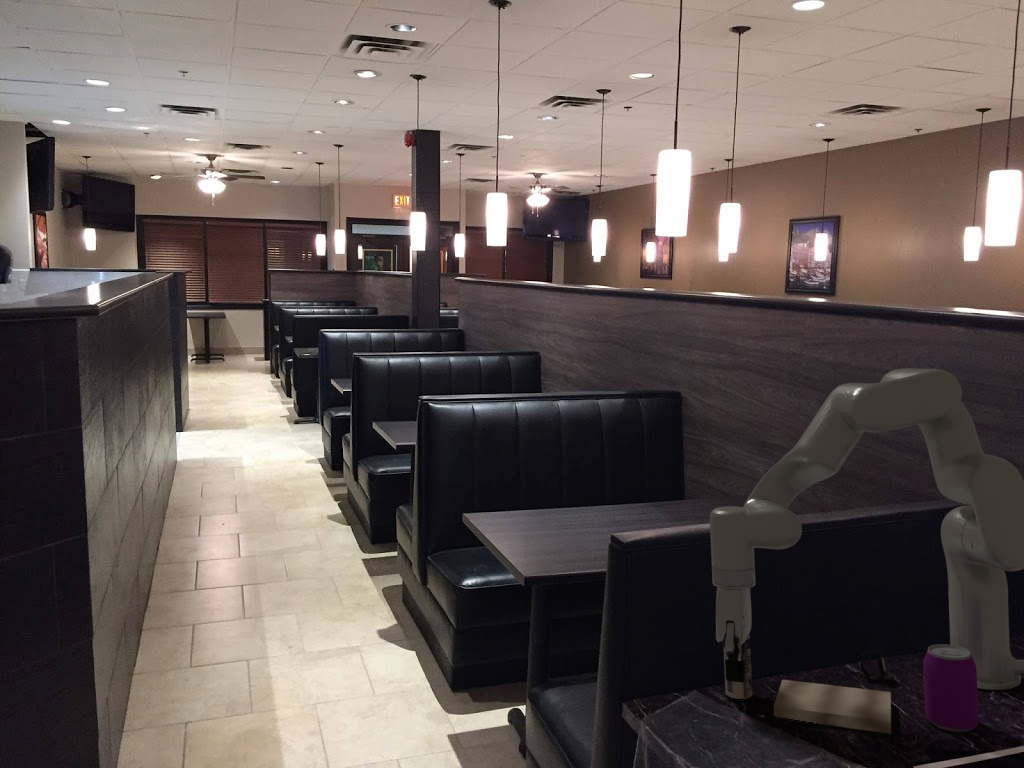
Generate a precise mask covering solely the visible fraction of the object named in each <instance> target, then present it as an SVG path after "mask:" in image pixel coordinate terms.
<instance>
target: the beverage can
mask: <svg viewBox="0 0 1024 768" xmlns="http://www.w3.org/2000/svg"><path fill="white" fill-rule="evenodd" d="M922 663H923V667H922V668H923V687H924V688H923V689H924V691H923V692H924V710H925V711H924V713H925V717H926V719H927V720H928V721H929V722H930V724H932V725H933V724H934V725H933V726H935V727H936V726H937V727H936V728H938V727H939V729H940V728H941V730H943V729H944V731H947V732H948V731H949V732H954V733H966V732H967V733H968V732H970V731H972V730H973V729H975V728H976V727H977V726H978V725H979V700H978V698H979V697H978V688H977V667H976V665H975V662H974V660H973V658H972V656H971V653H970V651H969V650H967V649H965V648H962V647H959V646H954V645H951V644H943V643H942V644H941V643H940V644H932V645H930V646H928V648H927V651H926V653H925V656H924V658H923V661H922Z"/></svg>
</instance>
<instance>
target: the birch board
mask: <svg viewBox="0 0 1024 768" xmlns="http://www.w3.org/2000/svg"><path fill="white" fill-rule="evenodd" d="M774 716H776V717H781V718H787V719H793V720H792V721H794V720H800V721H799V722H801V721H806V722H805V723H808V722H813V723H812V724H816V723H818V725H823V724H825V725H824V726H830V725H831V726H833V727H840V728H845V729H854V730H861V731H868V732H874V733H875V732H876V733H882V734H888V735H889V734H892V693H891V691H883V690H877V689H876V690H874V689H865V688H860V687H859V688H857V687H849V686H840V685H833V684H826V683H825V684H824V683H816V682H815V683H814V682H806V681H797V680H789V679H782V680H781V682H780V686H779V689H778V693H777V695H776V698H775V700H774V705H773V717H774Z"/></svg>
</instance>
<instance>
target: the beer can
mask: <svg viewBox="0 0 1024 768" xmlns="http://www.w3.org/2000/svg"><path fill="white" fill-rule="evenodd" d="M738 641H739V639H734V642H738ZM722 642H723V659H724V660H723V661H724V663H723V664H724V666H725V637H724V639H723V641H722ZM734 647H735V648H736V649H737V650H738V646H734ZM742 659H743V660H744V675H745V681H744V682H743V683H741V682H733V681H727V680H726V670H725V669H724V685H725V693H724V694H725V695H726V696H728V697H729V698H730V697H731V698H730V699H732V698H735V699H746V700H748V699H749V698H752V696H753V680H752V658H751V636H750V633H749V634H748V636H747V639H746V641H745V642H744V643H743V644H742ZM747 698H748V699H747Z"/></svg>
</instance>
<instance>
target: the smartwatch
mask: <svg viewBox="0 0 1024 768" xmlns="http://www.w3.org/2000/svg"><path fill="white" fill-rule="evenodd" d="M867 655H871V656H872V655H873V656H875V657H876V660H877V661H876V662H877V666H878V670H879V673H880V675H877V676H878V679H879V680H882V679H884V677H885V676H886V675H887V674H888V673H887V672H888V671H887V664H886V661H885V658H884V656H883V655H882V654H881V653H880V652H879V651H877V650H876V651H875V650H866V651H864V652H863V653H861V654H860V655H858V658H857V664H858V666H859V667H860V668H861V670H862V673H863V674H864V676H866V678H867V679H869V675H871V674H869V673H868V671H867V670H866V669H865V666H864V664H863V661H862V657H864V656H867Z"/></svg>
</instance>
